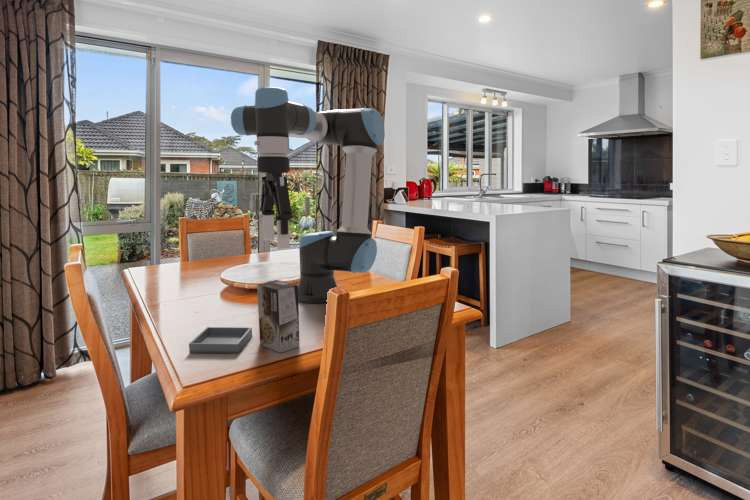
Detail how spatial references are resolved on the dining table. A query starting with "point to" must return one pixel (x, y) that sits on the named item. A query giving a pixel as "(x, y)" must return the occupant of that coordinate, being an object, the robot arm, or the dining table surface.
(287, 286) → the coffee box
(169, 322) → the dining table surface
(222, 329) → the tray
